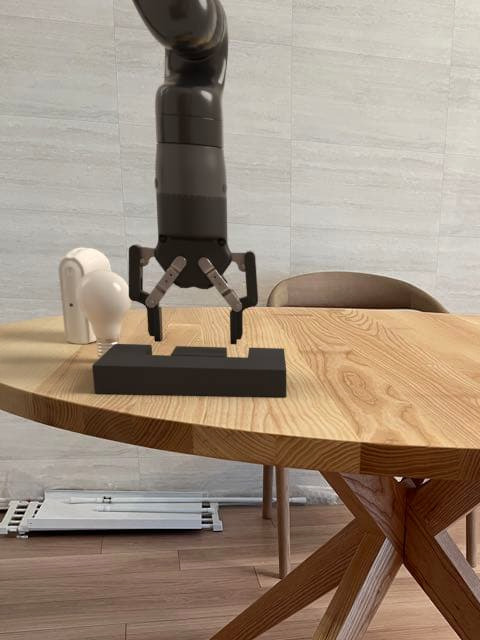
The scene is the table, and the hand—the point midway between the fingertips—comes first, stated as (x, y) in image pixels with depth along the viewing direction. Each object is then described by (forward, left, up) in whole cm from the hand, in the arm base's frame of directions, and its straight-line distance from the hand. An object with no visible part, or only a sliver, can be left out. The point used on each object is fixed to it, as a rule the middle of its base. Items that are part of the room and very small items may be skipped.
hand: (196, 342), depth 96 cm
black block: (0, 0, -4) cm, 4 cm away
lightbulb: (-11, +8, -4) cm, 15 cm away
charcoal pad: (0, -3, -4) cm, 5 cm away
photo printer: (-17, +26, -4) cm, 31 cm away
